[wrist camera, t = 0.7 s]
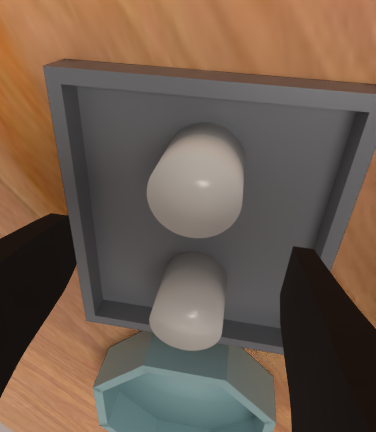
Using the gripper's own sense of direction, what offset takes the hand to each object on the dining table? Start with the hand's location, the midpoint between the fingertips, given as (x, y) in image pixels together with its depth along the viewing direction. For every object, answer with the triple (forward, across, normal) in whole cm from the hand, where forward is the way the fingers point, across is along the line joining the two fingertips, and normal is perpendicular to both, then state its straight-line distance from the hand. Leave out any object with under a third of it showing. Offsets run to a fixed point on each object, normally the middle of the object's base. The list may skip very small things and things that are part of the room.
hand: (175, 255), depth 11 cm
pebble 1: (+8, 0, 0) cm, 8 cm away
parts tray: (+8, 0, +4) cm, 9 cm away
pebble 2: (+8, 0, +8) cm, 11 cm away
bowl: (+8, 0, +20) cm, 22 cm away
